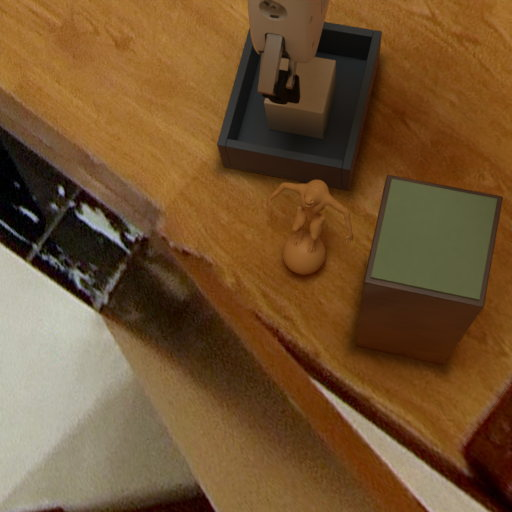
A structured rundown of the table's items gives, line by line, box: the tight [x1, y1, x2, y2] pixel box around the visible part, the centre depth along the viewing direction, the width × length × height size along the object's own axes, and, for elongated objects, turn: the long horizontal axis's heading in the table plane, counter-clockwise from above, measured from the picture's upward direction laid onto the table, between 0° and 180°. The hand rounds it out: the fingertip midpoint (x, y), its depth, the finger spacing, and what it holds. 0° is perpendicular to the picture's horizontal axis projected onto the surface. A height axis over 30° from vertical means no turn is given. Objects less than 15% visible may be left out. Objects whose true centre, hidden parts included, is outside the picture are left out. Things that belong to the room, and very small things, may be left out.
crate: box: [216, 21, 383, 192], centre depth 83 cm, size 13×15×5 cm
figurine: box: [266, 180, 354, 276], centre depth 76 cm, size 8×6×12 cm
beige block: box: [264, 57, 336, 139], centre depth 82 cm, size 6×6×6 cm
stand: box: [355, 174, 504, 366], centre depth 68 cm, size 8×8×22 cm
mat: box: [371, 179, 497, 300], centre depth 58 cm, size 7×7×1 cm
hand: (294, 48), depth 75 cm, fingers open, 9 cm apart
